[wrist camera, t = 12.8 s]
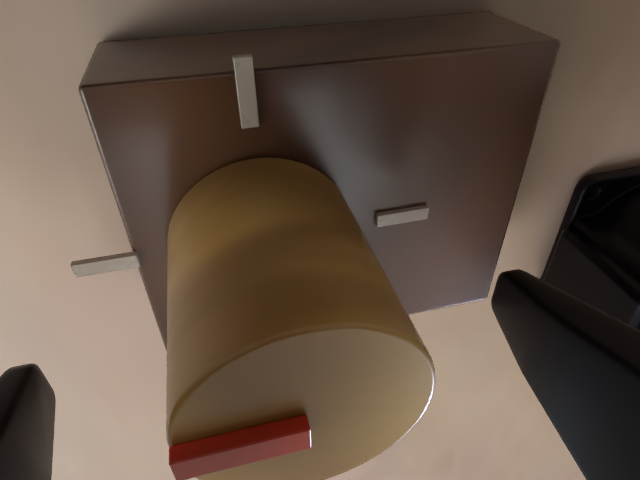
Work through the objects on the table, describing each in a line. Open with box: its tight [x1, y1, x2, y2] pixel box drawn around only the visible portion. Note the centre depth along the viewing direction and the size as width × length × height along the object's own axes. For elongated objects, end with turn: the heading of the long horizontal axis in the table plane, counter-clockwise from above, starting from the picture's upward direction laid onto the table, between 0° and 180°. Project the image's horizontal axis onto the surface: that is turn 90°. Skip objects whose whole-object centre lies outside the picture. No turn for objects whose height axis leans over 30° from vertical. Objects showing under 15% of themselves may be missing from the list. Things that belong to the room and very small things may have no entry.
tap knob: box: [166, 158, 435, 480], centre depth 9 cm, size 4×4×5 cm
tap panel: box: [71, 11, 560, 351], centre depth 13 cm, size 11×9×3 cm
